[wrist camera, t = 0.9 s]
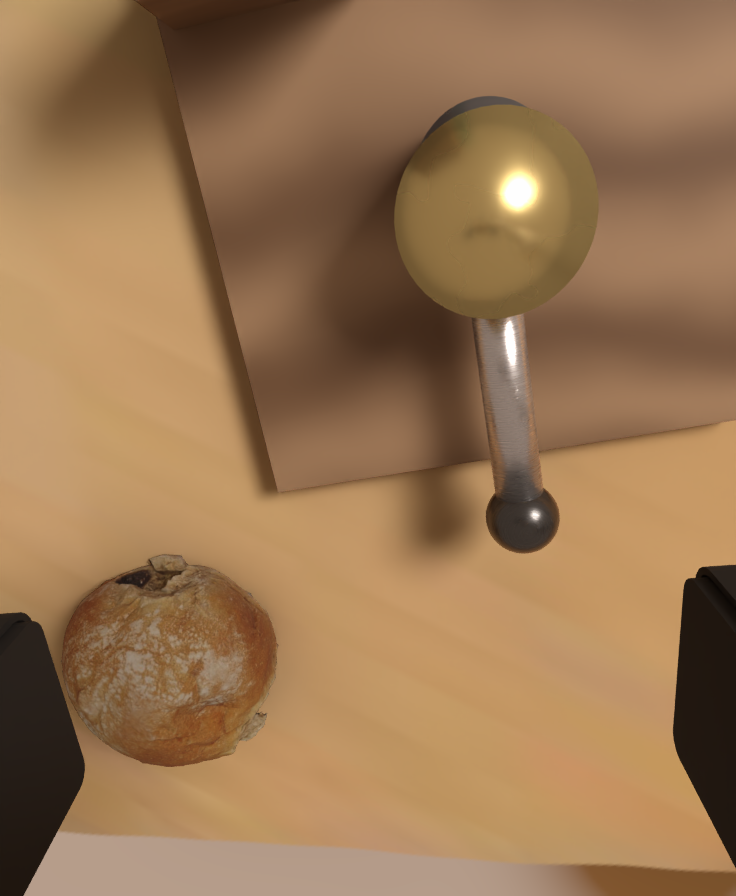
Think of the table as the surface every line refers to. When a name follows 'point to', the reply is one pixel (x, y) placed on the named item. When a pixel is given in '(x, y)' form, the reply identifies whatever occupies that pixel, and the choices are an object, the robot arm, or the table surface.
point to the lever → (500, 269)
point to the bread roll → (170, 663)
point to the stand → (373, 204)
